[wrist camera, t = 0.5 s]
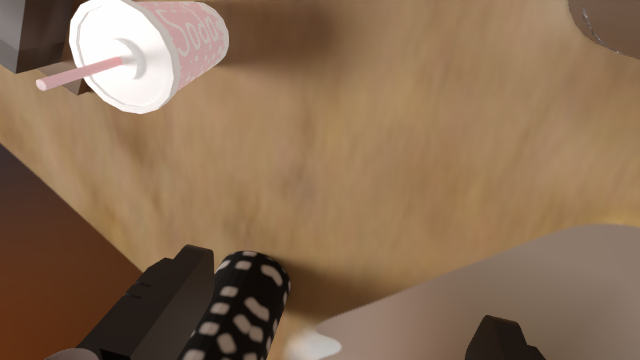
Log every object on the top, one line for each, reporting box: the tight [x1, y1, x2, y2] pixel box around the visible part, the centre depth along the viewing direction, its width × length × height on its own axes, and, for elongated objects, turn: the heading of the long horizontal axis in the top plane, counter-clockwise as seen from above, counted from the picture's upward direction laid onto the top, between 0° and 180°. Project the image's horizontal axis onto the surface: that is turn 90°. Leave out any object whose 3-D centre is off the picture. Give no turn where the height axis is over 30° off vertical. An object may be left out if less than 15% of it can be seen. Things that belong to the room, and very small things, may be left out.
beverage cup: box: [36, 0, 229, 114], centre depth 21 cm, size 6×6×14 cm
